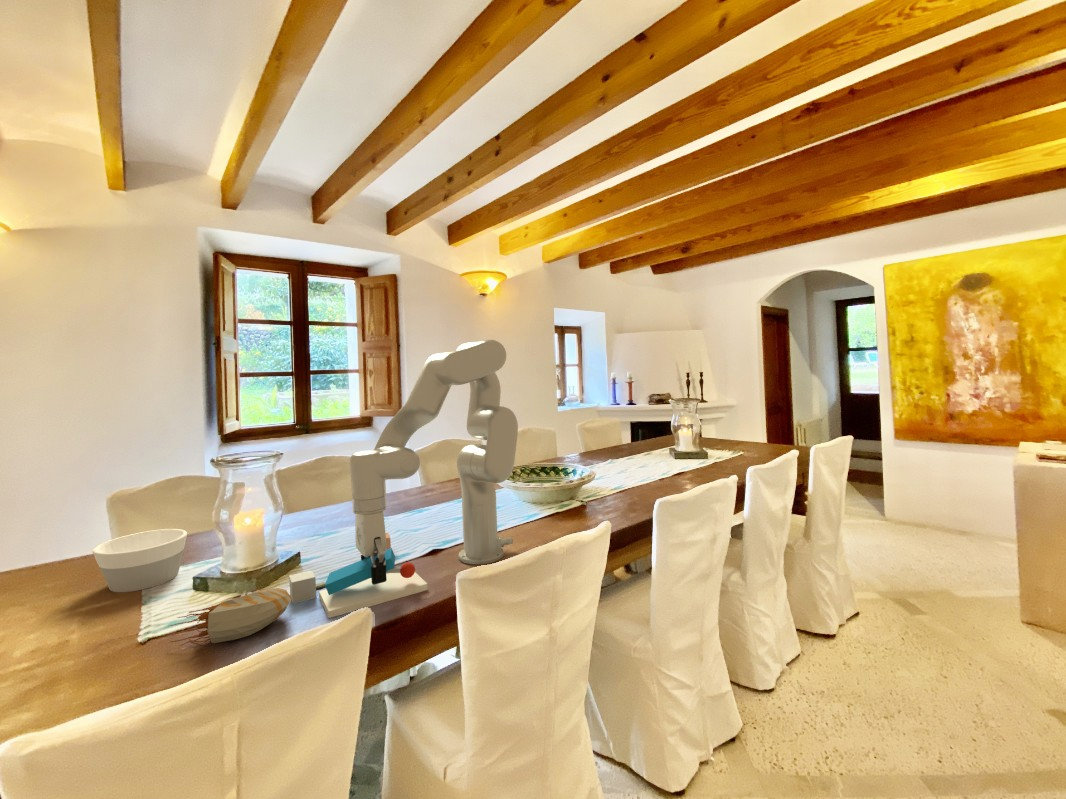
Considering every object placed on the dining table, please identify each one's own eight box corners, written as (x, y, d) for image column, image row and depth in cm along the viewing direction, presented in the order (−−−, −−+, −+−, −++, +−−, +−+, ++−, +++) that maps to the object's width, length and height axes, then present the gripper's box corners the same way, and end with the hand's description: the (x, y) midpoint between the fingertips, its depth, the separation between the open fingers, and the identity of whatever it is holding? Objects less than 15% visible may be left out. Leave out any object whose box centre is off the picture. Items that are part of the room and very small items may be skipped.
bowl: (137, 599, 114) (134, 555, 113) (74, 594, 118) (71, 552, 117) (207, 567, 133) (204, 529, 132) (151, 564, 137) (148, 527, 136)
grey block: (313, 590, 116) (312, 570, 116) (316, 597, 112) (315, 576, 112) (290, 595, 113) (289, 575, 113) (292, 603, 109) (291, 582, 109)
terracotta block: (389, 549, 143) (388, 532, 142) (391, 554, 138) (390, 537, 138) (371, 552, 141) (370, 535, 140) (373, 557, 136) (372, 540, 136)
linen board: (410, 573, 124) (410, 567, 124) (427, 589, 114) (427, 583, 114) (319, 597, 112) (318, 591, 112) (329, 618, 102) (328, 611, 102)
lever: (336, 614, 107) (417, 579, 112) (324, 585, 106) (407, 551, 111) (340, 600, 114) (416, 568, 119) (329, 572, 113) (406, 541, 118)
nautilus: (155, 668, 86) (186, 631, 101) (285, 637, 93) (298, 606, 107) (149, 625, 86) (182, 594, 101) (280, 597, 93) (293, 572, 107)
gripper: (344, 499, 117) (348, 568, 118) (362, 515, 102) (367, 594, 103) (375, 494, 121) (379, 561, 122) (397, 508, 106) (401, 584, 107)
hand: (373, 575), depth 113 cm, fingers closed on lever, 8 cm apart
